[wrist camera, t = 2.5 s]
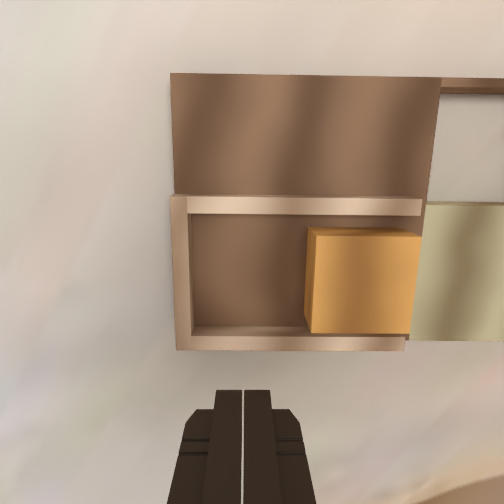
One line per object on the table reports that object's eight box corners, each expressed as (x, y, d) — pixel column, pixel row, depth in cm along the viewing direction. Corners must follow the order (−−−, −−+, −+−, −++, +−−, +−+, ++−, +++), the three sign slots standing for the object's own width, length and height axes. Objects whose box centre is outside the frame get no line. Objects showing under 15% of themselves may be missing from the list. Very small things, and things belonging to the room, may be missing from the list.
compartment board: (548, 86, 23) (599, 73, 20) (501, 328, 28) (537, 351, 24) (176, 80, 23) (164, 66, 20) (185, 326, 27) (176, 350, 24)
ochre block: (400, 227, 23) (421, 236, 21) (390, 313, 25) (409, 333, 22) (307, 226, 23) (316, 235, 20) (303, 313, 25) (311, 333, 22)
